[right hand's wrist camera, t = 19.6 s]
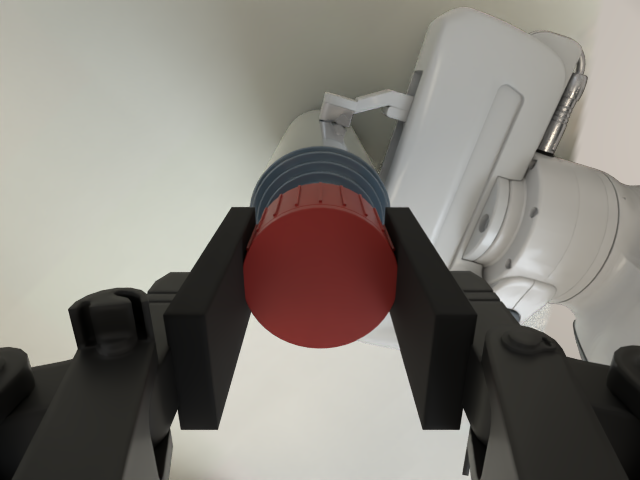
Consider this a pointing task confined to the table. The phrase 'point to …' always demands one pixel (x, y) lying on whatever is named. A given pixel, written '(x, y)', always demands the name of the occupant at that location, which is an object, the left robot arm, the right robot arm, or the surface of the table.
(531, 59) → the left robot arm
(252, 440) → the table surface
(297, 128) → the bottle
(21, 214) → the table surface
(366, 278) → the cap
